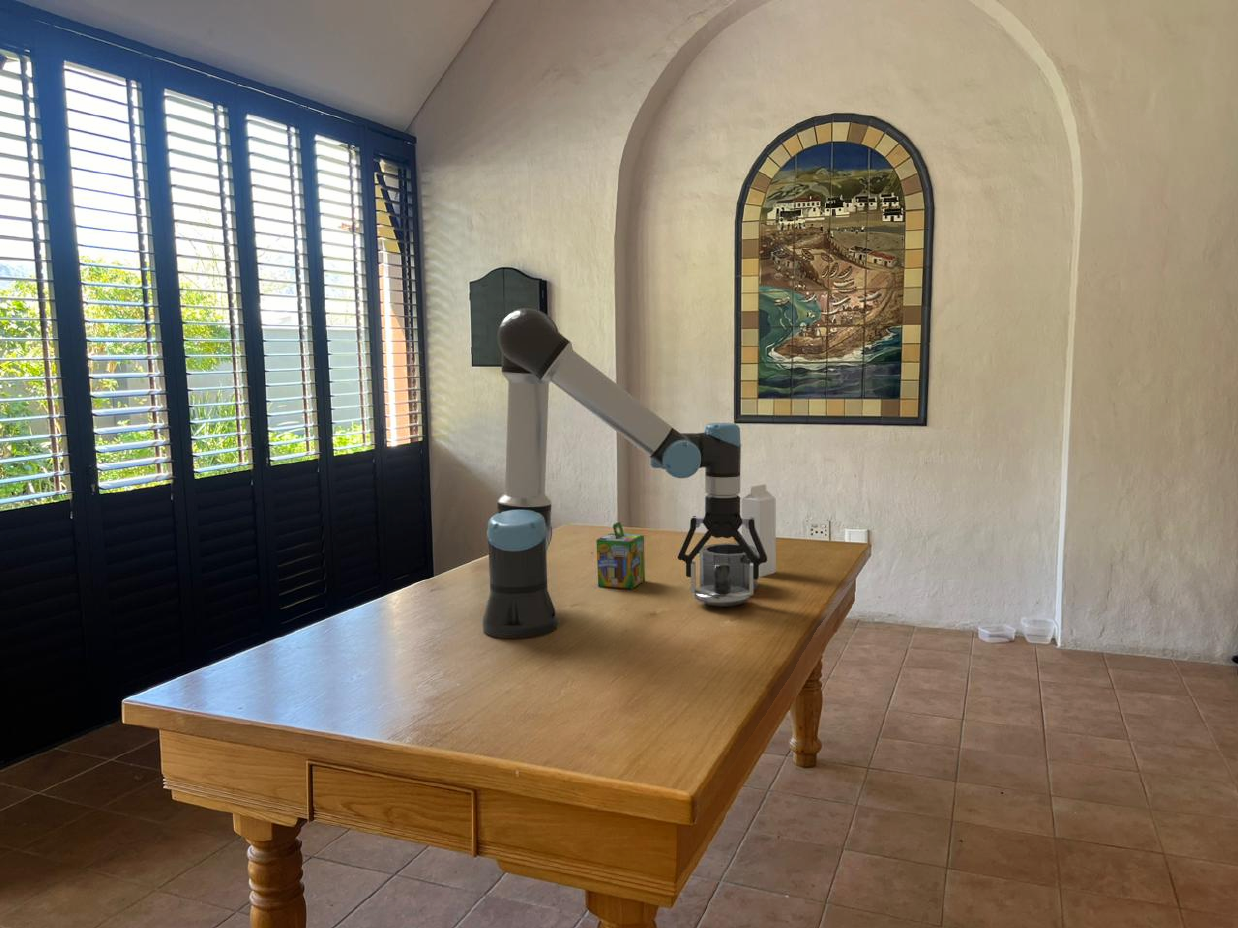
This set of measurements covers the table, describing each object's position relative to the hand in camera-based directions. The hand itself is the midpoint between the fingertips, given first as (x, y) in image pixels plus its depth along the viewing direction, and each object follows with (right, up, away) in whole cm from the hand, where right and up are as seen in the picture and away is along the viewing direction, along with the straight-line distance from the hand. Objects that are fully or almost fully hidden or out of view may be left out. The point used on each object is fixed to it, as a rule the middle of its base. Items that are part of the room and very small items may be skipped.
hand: (722, 592), depth 205 cm
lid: (0, -2, 0) cm, 2 cm away
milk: (+12, +1, +28) cm, 31 cm away
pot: (+3, -1, +16) cm, 16 cm away
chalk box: (-22, -1, +21) cm, 30 cm away
